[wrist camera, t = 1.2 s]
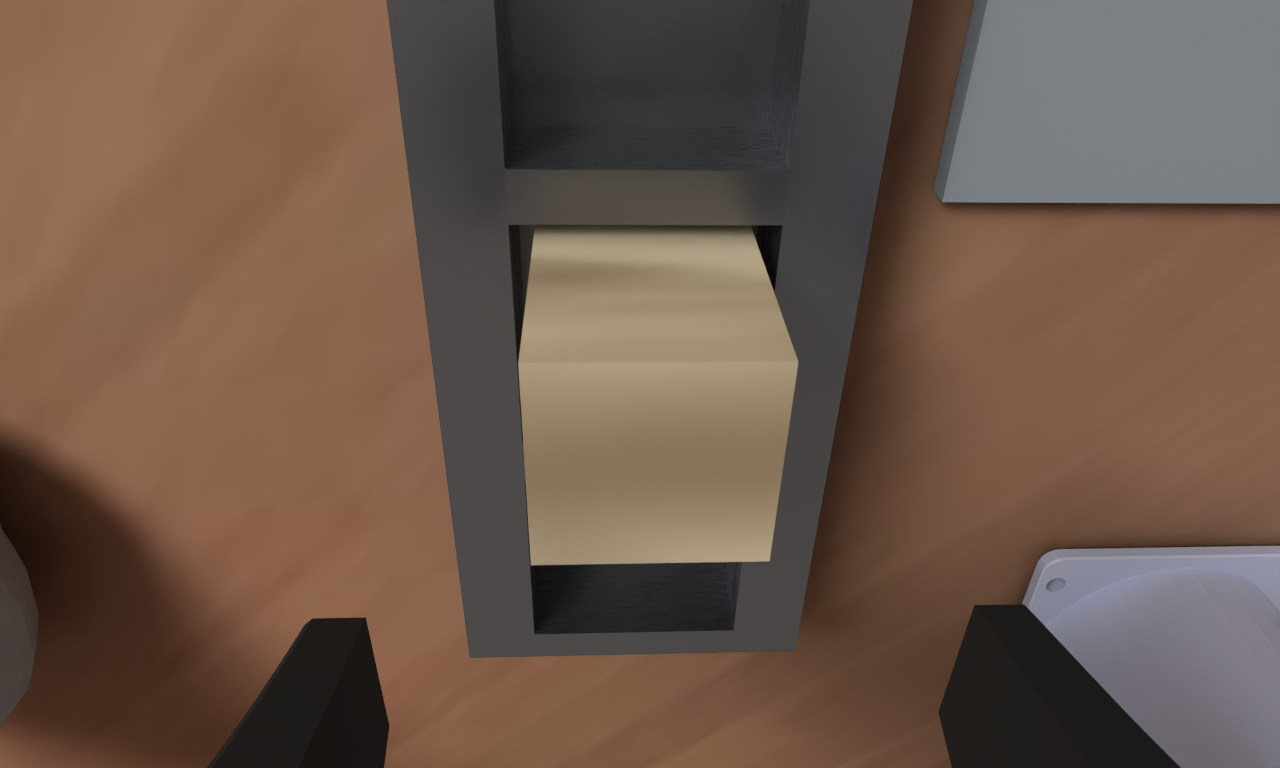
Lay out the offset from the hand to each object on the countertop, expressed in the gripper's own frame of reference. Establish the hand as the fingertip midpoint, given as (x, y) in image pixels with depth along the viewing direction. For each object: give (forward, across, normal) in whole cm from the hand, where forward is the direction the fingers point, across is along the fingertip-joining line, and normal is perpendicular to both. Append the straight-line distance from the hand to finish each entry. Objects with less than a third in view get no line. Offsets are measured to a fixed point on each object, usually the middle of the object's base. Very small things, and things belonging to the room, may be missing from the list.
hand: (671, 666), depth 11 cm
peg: (+10, 0, 0) cm, 10 cm away
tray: (+10, 0, 0) cm, 10 cm away
